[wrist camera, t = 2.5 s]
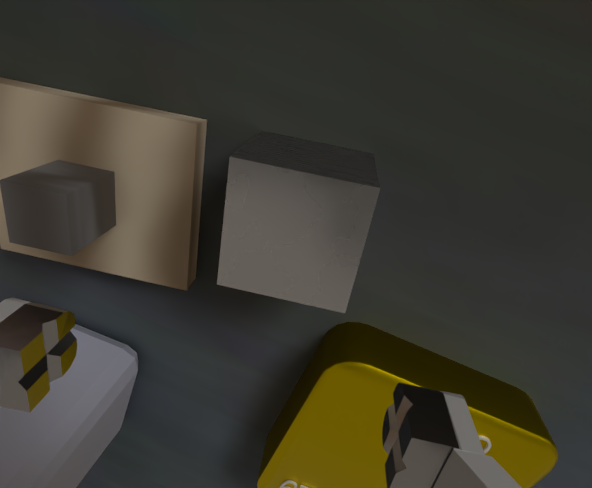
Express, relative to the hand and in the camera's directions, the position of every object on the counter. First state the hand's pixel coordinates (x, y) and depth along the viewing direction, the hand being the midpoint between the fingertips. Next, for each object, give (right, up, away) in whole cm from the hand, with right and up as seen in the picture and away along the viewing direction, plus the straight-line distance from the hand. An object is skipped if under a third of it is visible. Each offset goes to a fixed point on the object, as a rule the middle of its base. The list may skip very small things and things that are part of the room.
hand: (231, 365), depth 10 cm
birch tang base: (-10, +7, +14) cm, 18 cm away
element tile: (+8, -10, +20) cm, 24 cm away
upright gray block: (+2, +6, +12) cm, 14 cm away
